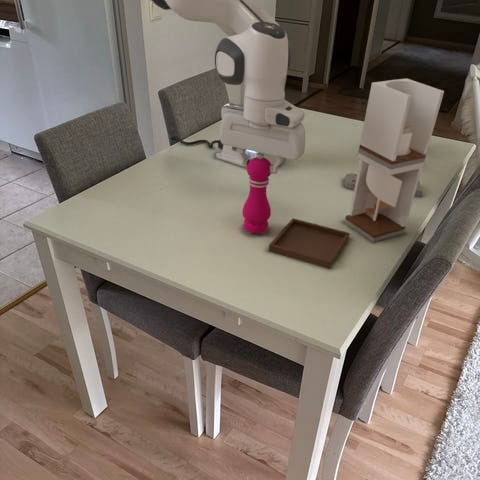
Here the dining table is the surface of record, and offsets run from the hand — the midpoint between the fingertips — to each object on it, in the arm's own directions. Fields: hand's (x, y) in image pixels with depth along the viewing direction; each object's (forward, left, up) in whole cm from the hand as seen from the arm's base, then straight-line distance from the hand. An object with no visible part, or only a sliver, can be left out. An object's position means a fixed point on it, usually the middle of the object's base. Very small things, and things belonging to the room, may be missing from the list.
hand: (259, 169), depth 116 cm
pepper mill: (0, 0, -16) cm, 16 cm away
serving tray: (+15, 0, -16) cm, 22 cm away
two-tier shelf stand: (+27, +17, -16) cm, 36 cm away
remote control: (+23, +44, -16) cm, 52 cm away
